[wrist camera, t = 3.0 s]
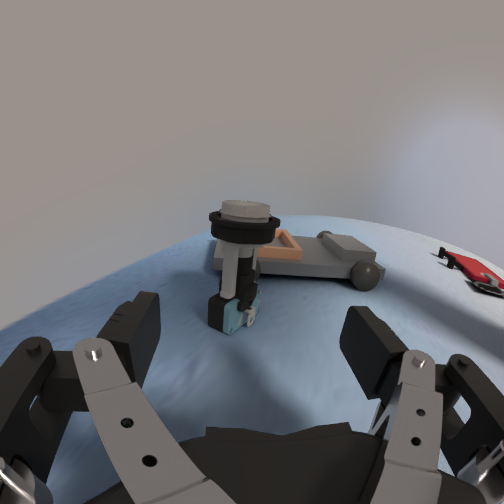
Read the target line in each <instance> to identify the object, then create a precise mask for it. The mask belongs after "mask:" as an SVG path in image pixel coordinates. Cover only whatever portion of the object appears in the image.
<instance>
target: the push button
mask: <svg viewBox="0 0 504 504" xmlns="http://www.w3.org/2000/svg"><path fill="white" fill-rule="evenodd" d="M269 212H270V206H269V205H267V204H263V203H258V202H251V201H240V200H227V201H223V202H222V209H220V210H219V211H216V212H212V213H210V214H209V220H210V221H211V222H212V225H211V234H212V236H213V237H215V238H217V239H219V240H220V242H221V243H222V244H223V246H224V257H223V272H222V279H221V280H220V284H219V293H218V294H216V295H214V296H212V297H211V298H210V299H209V301H208V325H209V326H211V327H213V328H215V329H217V330H219V331H222V332H224V333H226V334H228V335H231V334H232V333H233V332H234V331H235V330H237V329H238V328H239V327H241V326H242V325H243V324H245V323H246V322H247V326H248V327H249V326H250V325H251V324H253V322H254V318H255V315H256V314H257V311H258V304H259V302H260V301H261V299H259V296H260V294H261V293H262V291H260V289H259V288H258V284H256V283H255V280H254V279H255V269H256V260H257V251H258V248H261V247H263V246H264V245H265V244H268V243H271V242H272V241H273V239H274V238H275V231H276V228H278V227H279V226H280V220H279V219H278V218H276V217H273V216H272V215H271V214H269ZM251 318H252V320H251V322H250V319H251Z"/></svg>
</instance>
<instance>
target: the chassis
mask: <svg viewBox="0 0 504 504" xmlns="http://www.w3.org/2000/svg"><path fill="white" fill-rule="evenodd" d="M223 257H224V246H223V244H222V243H221V242H220V240H219V239H217V243H216V248H215V252H214V257H213V270H222V271H223ZM375 257H376V252H375V251H374V250H372V249H371V248H369V247H368V246H366V245H364V244H363V243H361V242H360V241H358V240H357V239H355V238H354V237H352V236H347V235H338V234H332V233H331V232H329V231H322V232H320V233H319V234H318V235H317V237H316V238H311V237H301V236H291V235H290V234H289V232H288V231H287V230H282V229H276V231H275V238H274V239H273V241H272V242H271V243H268V244H265V245H264V246H263V247H261V248H258V251H257V260H256V269H255V279H254V280H255V281H257V279H258V278H259V276H260V273H264V274H280V275H296V276H313V277H331V278H350V280H351V282H352V283H353V284H354V285H355V286H356V287H357V289H359V290H360V291H369V290H371V289H373V288H374V287H375V286H376V285H377V283H378V281H379V280H383V277H384V274H385V270H386V269H384V268H383V267H382V266H380V265H379V264H378V263H376V262H375Z"/></svg>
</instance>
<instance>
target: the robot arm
mask: <svg viewBox="0 0 504 504" xmlns="http://www.w3.org/2000/svg"><path fill="white" fill-rule="evenodd" d="M160 333H161V322H160V303H159V294H158V293H152V292H144V291H140V292H139V293H138V295H137V296H136V298H135V299H134V301H133V302H130V301H127V302H125V303H124V304H122V305H120V306H118V308H117V309H116V310H115V312H114V313H113V315H112V316H111V317H110V319H109V320H108V321H107V323H106V324H105V325H104V327H103V328H102V330H101V331H100V332H99V334H98V335H97V337H96V338H88V339H85V340H82V341H80V342H79V343H77V344H76V345H75V347H74V349H73V351H53V348H52V345H51V343H50V341H49V340H48V339H46V338H43V337H30V338H27V339H25V340H24V341H22V342H21V343H20V344H19V345H18V346H17V347H16V349H15V350H14V351H13V352H12V353H11V355H10V356H9V357H8V358H7V360H6V361H5V362H4V363H3V365H2V366H1V367H0V504H53V497H52V494H51V491H50V490H49V488H48V487H47V486H46V482H47V478H48V475H49V472H50V469H51V466H52V463H53V460H54V458H55V455H56V452H57V449H58V447H59V444H60V441H61V439H62V436H63V434H64V431H65V429H66V426H67V424H68V421H69V419H70V417H71V414H72V412H73V411H81V412H90V414H91V416H92V419H93V422H94V424H95V427H96V429H97V431H98V434H99V436H100V438H101V441H102V443H103V445H104V447H105V449H106V452H107V454H108V456H109V458H110V460H111V462H112V464H113V466H114V468H115V470H116V471H117V473H118V475H119V477H120V479H121V481H120V482H118V483H117V484H115V485H114V486H112V487H110V488H109V489H107V490H106V491H104V492H102V493H101V494H99V495H97V496H96V497H94V498H92V499H90V500H89V501H87V502H85V503H83V504H501V503H502V502H504V396H503V394H502V393H501V392H500V391H499V390H498V389H497V387H496V386H495V385H494V384H493V383H492V382H491V380H490V379H489V378H488V377H487V376H486V375H485V374H484V373H483V371H482V370H481V369H480V368H479V367H478V366H477V365H476V364H475V363H474V362H473V361H472V360H471V359H470V358H468V357H467V356H464V355H461V354H454V355H452V356H451V357H450V359H449V361H448V363H447V364H446V365H441V364H435V362H434V360H433V359H432V357H431V356H429V355H428V354H426V353H424V352H422V351H419V350H409V349H408V348H407V347H406V345H405V344H404V343H403V342H402V341H401V340H400V339H399V337H398V336H397V335H395V333H394V332H393V331H392V330H391V328H390V327H389V326H388V325H387V324H386V323H385V322H384V321H382V320H381V319H379V318H378V317H376V316H375V314H374V313H373V312H372V311H371V310H370V309H369V308H368V307H367V306H351V307H349V309H348V311H347V315H346V318H345V322H344V325H343V328H342V332H341V335H340V341H339V343H340V349H341V351H342V353H343V355H344V356H345V358H346V360H347V362H348V364H349V365H350V367H351V369H352V371H353V373H354V375H355V377H356V378H357V380H358V382H359V384H360V386H361V388H362V390H363V391H364V393H365V395H366V397H367V399H368V400H370V399H376V398H380V399H381V401H380V402H379V404H378V406H377V409H376V412H375V415H374V418H373V420H372V423H371V426H370V429H369V431H368V434H367V433H363V432H356V431H352V430H351V427H350V425H349V422H344V423H337V424H329V425H320V426H315V427H312V428H308V429H305V430H302V431H298V432H295V433H291V434H288V435H275V434H269V433H263V432H258V431H253V430H248V429H240V428H218V427H206V436H205V437H197V438H193V439H189V440H185V441H182V442H180V443H177V442H176V440H175V439H174V438H173V436H172V435H171V434H170V432H169V431H168V429H167V428H166V427H165V425H164V424H163V422H162V421H161V419H160V418H159V416H158V415H157V413H156V412H155V410H154V409H153V407H152V406H151V404H150V403H149V401H148V399H147V398H146V396H145V395H144V393H143V391H142V390H141V389H142V386H143V383H144V380H145V377H146V374H147V372H148V369H149V366H150V363H151V361H152V358H153V355H154V353H155V350H156V347H157V345H158V342H159V339H160ZM461 395H462V397H463V398H464V399H465V401H466V402H467V404H468V405H469V406H470V408H471V416H470V418H469V420H468V421H467V422H466V424H464V423H463V421H462V420H461V418H460V417H459V415H458V414H457V412H456V411H455V409H454V408H453V407H454V405H455V404H456V402H457V401H458V399H459V398H460V396H461ZM35 396H37V398H36V400H35V401H34V403H33V405H32V407H31V409H30V411H29V408H30V405H31V403H32V401H33V399H34V398H35ZM440 448H441V450H442V452H443V454H444V456H445V458H446V460H447V462H448V463H449V465H450V467H451V469H452V471H453V473H454V475H455V477H454V476H452V475H450V474H447V473H445V472H443V471H441V470H439V469H437V466H438V459H439V451H440Z"/></svg>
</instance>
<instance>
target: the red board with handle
mask: <svg viewBox="0 0 504 504" xmlns="http://www.w3.org/2000/svg"><path fill="white" fill-rule="evenodd" d="M445 250H446V249H444V248H443V247H440V250H439V254H438V257H439V258H441V259H443V257H444V256H445V257H447V258H448V259H449V260H448V264H447V267H448V268H449V269H453V267H454V265H455V266H456V267H458V268H459V269H461V270H462V271H463V272H464V273H465V274H466V275H467V276H468V277H470V278H468V277H467V278H468V279H470V280H471V281H472V283H473V284H474V285H475V286H476V287H477V288H478V289H480V290H484V291H487V292H491V293H494V294H498V295H501V296H504V291H503V290H501V289H504V280H502V279H501V278H500V277H499V276H497V275H496V274H495V273H493V272H492V271H491V270H489V269H488V268H487V267H486V266H484V265H483V264H482V263H480V262H479V261H477V260H475V259H472V258H469V257H465V256H462V255H459V254H455V253H452V252H448V251H445ZM500 288H501V289H500Z"/></svg>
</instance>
